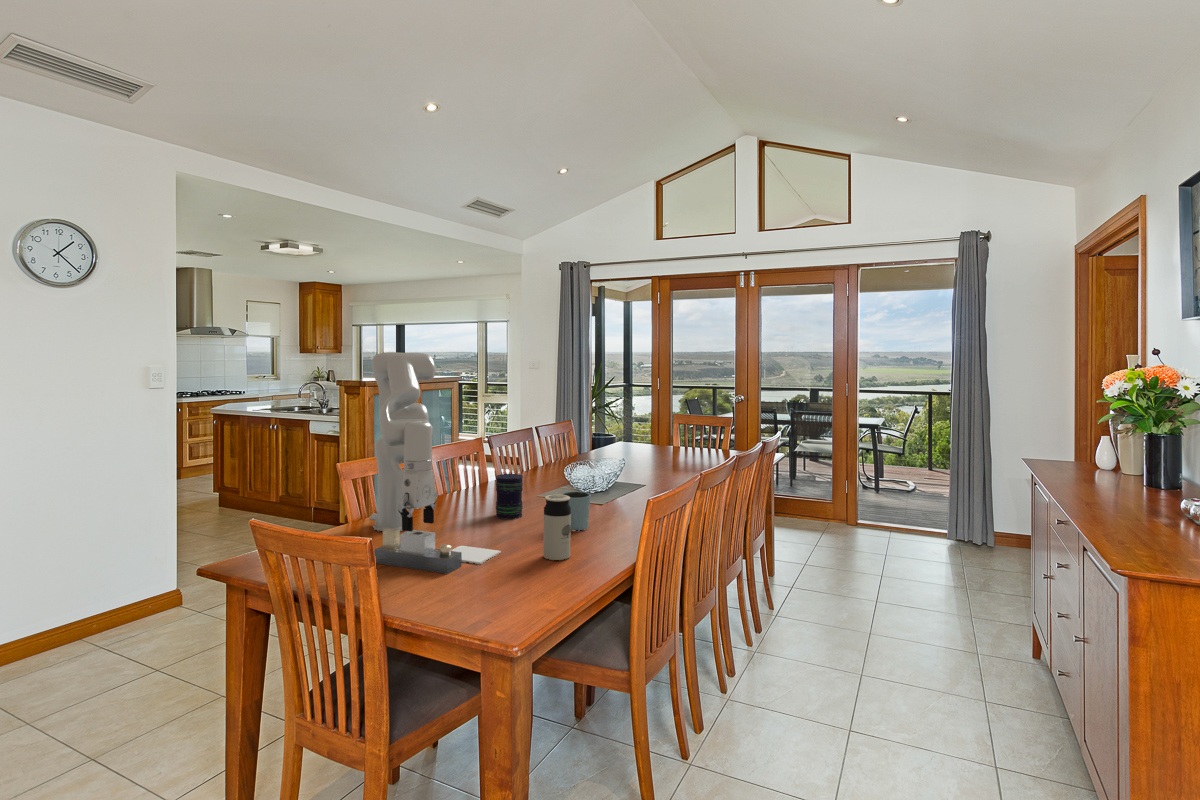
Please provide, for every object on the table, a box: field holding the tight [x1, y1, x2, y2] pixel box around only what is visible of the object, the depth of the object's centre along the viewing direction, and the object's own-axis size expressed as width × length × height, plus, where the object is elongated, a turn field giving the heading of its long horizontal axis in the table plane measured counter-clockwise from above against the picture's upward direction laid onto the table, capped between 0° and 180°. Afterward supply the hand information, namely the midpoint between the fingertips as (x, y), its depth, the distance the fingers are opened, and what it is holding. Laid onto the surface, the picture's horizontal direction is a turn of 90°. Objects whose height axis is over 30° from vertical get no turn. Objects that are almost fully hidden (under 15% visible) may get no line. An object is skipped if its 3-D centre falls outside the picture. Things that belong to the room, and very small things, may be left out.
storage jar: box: [495, 473, 524, 520], centre depth 238 cm, size 10×10×15 cm
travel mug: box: [542, 494, 572, 561], centre depth 190 cm, size 8×8×18 cm
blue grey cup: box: [560, 490, 592, 530], centre depth 222 cm, size 10×10×12 cm
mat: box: [451, 545, 502, 565], centre depth 190 cm, size 14×12×1 cm
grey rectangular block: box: [400, 529, 436, 555], centre depth 181 cm, size 8×5×5 cm, turn 70°
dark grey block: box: [374, 528, 463, 575], centre depth 181 cm, size 24×7×9 cm, turn 70°
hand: (418, 526), depth 180 cm, fingers open, 9 cm apart
